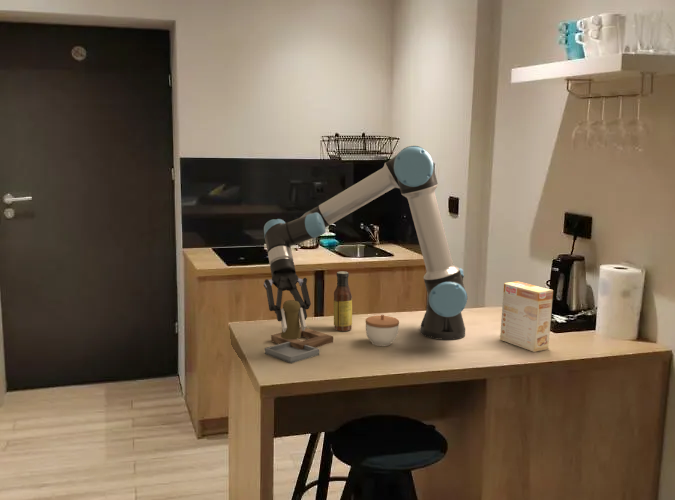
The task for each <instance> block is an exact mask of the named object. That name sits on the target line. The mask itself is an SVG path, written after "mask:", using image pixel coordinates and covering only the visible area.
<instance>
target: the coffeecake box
mask: <svg viewBox="0 0 675 500" xmlns="http://www.w3.org/2000/svg"><path fill="white" fill-rule="evenodd" d="M502 293H503V294H502V306H501V307H502V309H501V310H502V311H501V322H500V325H501V326H500V334H499V341H503V342H505V343H509V344H511V345H514V346H516V347H519V348H522V349H525V350H528V351H530V352H533V353H537V352H541V351H546V350H549V346H550V345H549V343H550V332H551V323H552V322H551V321H552V309H553V296H554V290H553V289H550V288H546V287H541V286H538V285H535V284H530V283H526V282H522V281H511V282H509V281H508V282H504V283H503V292H502Z"/></svg>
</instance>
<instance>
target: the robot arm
mask: <svg viewBox="0 0 675 500" xmlns="http://www.w3.org/2000/svg"><path fill="white" fill-rule="evenodd" d="M434 167H435V166H434V160H433V158H432V155H431V154H430V153H429V152H428V151H427V150H426V149H425V148H423V147H421V146H418V145H409V146H405V147H404V148H402V149H401V150H400V151H399V152H398V153H397V154H396V155H395V156H393V157H392V158H391V159H389V160H388V161H386V162H384V165H383V167H382V168H380V169H378V170H377V171H375V172H373V173H371V174H369V175H368V176H366V177H365V178H363V179H362V180H360V181H358V182H357V183H354V184H353V185H351V186H349V187H348V188H347V189H345V190H343V191H341V192H339V193H337V194H336V195H334V196H333V197H331V198H329V199H328V200H326V201H324V202H322V203H320V204H319V205H317V206H316V207H313V208H312V209H310V210H308V211H306V212H305V213H303V215H302V216H300V217H298V218H296V219H294V220H291V221H287V222H286V221H284V219H281V218H277V219H274V218H273V219H270V220H268V221H267V222H266V223H265V224H264V226H263V233H264V237H263V238H264V240H265V241H264V242H265V245H266V251H267V256H268V261H269V262H268V263H269V266H270V267H269V269H270V274H271V279H268V278H267V279H264V282H263V287H264V289H265V291H266V297H267V304H268V311H269V312H274V313H275V315H276V319H277V320H276V321H278V322H280V324H281V331H282V330H283V332H286V329H287V324H286V319H285V314H284V313H285V311H284V309H283V308H281V307H282V301H283V300H282V299H283V292H284V291H289V292H290V294H291V295H292V297H293V300H295V301H298V302H299V303H300V310H299V312H298V314H299V323H300V328H301V329H302V331H304V330H305V328H307V323H306V320H307V318H308V313H307V310H309V309H310V307H311V305H312V303H311V298H310V295H309V290H308V285H307V282H308V278H306V277H304V278H299V276H298V275H297V272H296V267H295V263H294V257H293V253H292V246H295V245H297V244H301V243H304V242H306V241H309V240H312V239H315V238H319V237H320V236H323V235H324V234H325V233H326V231H327V230H326V228H328V227H329V226H330V225H332V224H334V223H336V222H338V221H339V220H341V219H343V218H345V217H346V216H348V215H349V214H351V213H353V212H355V211H358V209H360V208H362V207H364V206H365V205H368V204H369V203H370V202H372V201H373V200H374V201H375V200H376V199H377V198H379V197H381V196H383V195H385V193H388V192H389V191H391V190H393V189H399V191H400V193H401V195H402V196H403V197H405V198H406V199H407V201H408V204H409V205H408V206H409V209H410V213H411V217H412V221H413V224H414V228H415V231H416V235H417V236H416V237H417V240H418V244H419V247H420V251H421V254H422V255H421V256H422V259H423V263H424V266H425V269H426V270H425V271H426V273H425V274H424V276H423V280H424V281H423V282H424V284H425V289H426V292H427V295H426V309H425V310H426V311H425V313H424V314H423V318H422V321H421V324H420V325H419V327H420V328H419V332H420V334H421V335H423V336H425V337H427V338H431V339H435V340H450V341H451V340H459V339H462V338H464V337H465V336H466V327H465V323H464V317H463V313H462V312H463V311H464V309H465V308H466V305H467V303H468V293H467V291H466V289H465V285H464V278H465V275H464V269H463V268H461V267H458V266H457V265H454V262H453V257H452V254H451V251H450V245H449V243H448V242H449V241H448V239H447V234H446V230H445V226H444V223H443V220H442V215H441V212H440V207H439V204H438V200H437V196H436V192H435V191H436V188H438V186H439V184H438V183H439V182H438V180H437V179H438V178H437V175H436V171H435V168H434ZM297 284H298V285H299V286H300V292H301V294H300V292H299V290H298V287H297ZM273 285H274V286H275V288H277V293H276V301H275V300H274V294H273V293H274V292H273V287H272V286H273ZM301 295H302V296H301ZM275 303H276V304H275Z"/></svg>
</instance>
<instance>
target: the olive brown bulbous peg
mask: <svg viewBox="0 0 675 500" xmlns="http://www.w3.org/2000/svg"><path fill="white" fill-rule="evenodd" d="M282 309H284V314H285V319H286V324H287V329H286V332H283V330H282V329H281V332H280V333H281V337H282V338H284V339H297V340H299V339H300V338H301V332H300V328H301V324H300V319H299V314H298V312H299V310H300V303H299V302H298V301H295V299H292V300H291V299H289V300H286V301H284V302H283V304H282Z"/></svg>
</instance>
